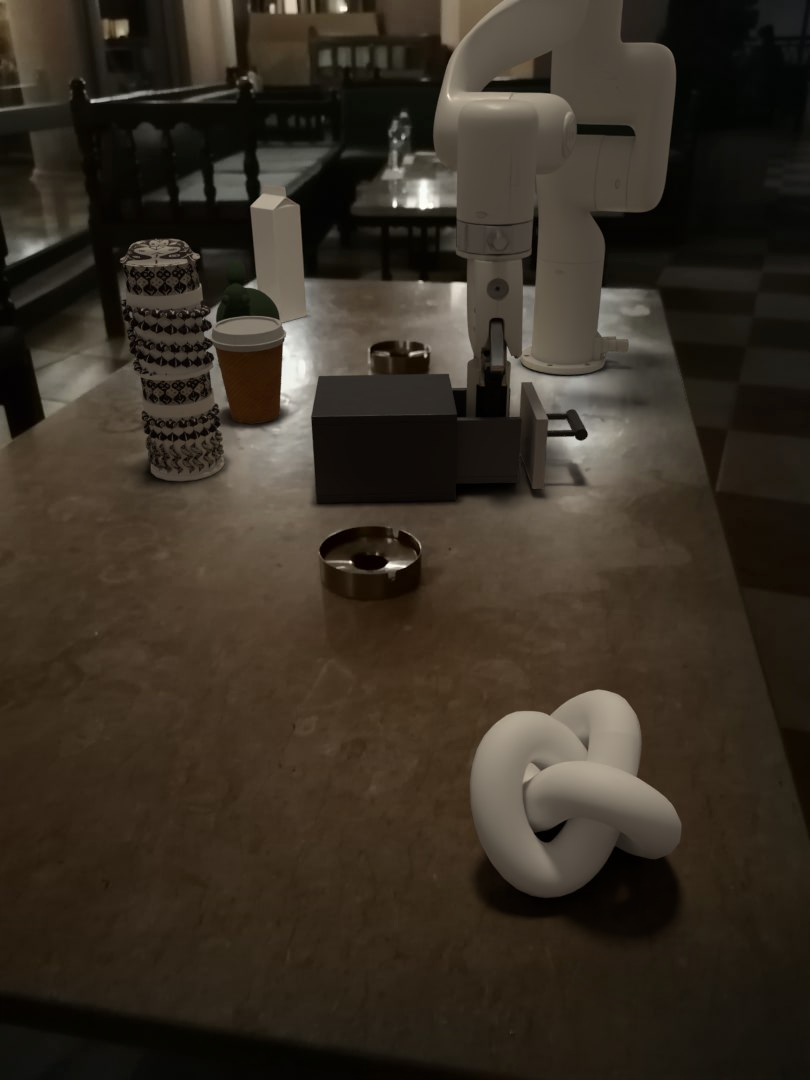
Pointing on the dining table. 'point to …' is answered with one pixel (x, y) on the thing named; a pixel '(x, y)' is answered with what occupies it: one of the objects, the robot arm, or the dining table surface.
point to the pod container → (474, 379)
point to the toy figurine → (243, 297)
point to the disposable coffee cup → (250, 365)
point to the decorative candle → (172, 359)
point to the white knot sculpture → (566, 794)
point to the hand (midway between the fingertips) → (487, 409)
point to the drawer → (508, 440)
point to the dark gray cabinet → (384, 438)
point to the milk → (279, 251)
